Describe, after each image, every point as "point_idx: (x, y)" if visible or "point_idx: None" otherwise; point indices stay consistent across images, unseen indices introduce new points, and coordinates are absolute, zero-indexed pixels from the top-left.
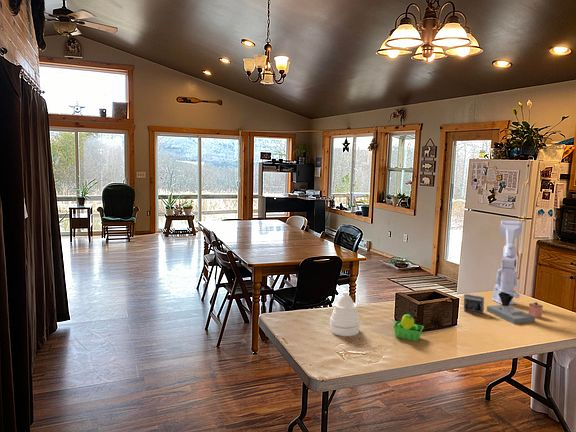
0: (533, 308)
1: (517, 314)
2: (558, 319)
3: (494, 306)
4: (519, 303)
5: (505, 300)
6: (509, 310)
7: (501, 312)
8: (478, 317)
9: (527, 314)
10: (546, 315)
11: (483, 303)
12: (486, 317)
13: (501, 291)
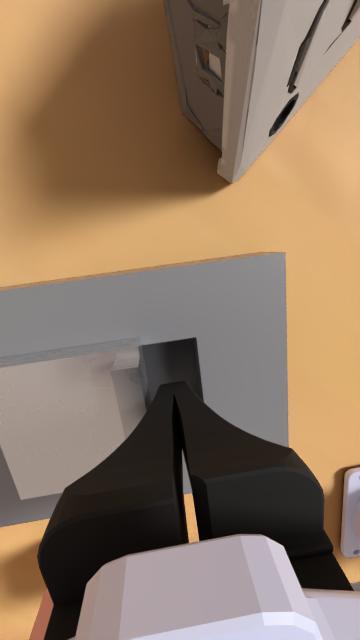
0: None
1: None
2: None
3: (258, 330)
4: (345, 571)
5: (119, 449)
6: (36, 382)
7: (65, 292)
8: (87, 8)
9: (11, 505)
10: None
11: (228, 86)
12: (86, 121)
13: (79, 624)
